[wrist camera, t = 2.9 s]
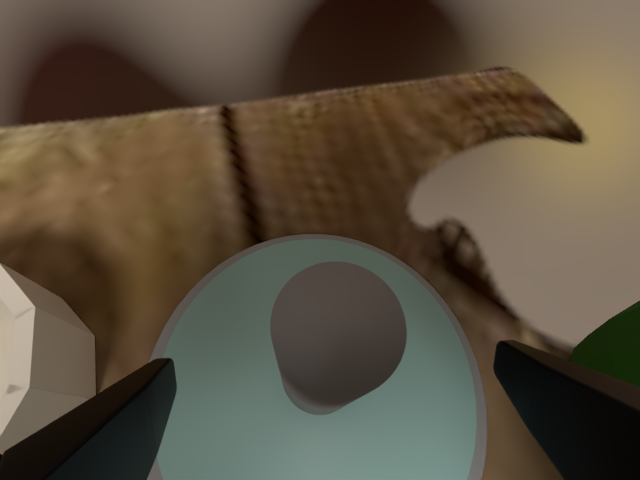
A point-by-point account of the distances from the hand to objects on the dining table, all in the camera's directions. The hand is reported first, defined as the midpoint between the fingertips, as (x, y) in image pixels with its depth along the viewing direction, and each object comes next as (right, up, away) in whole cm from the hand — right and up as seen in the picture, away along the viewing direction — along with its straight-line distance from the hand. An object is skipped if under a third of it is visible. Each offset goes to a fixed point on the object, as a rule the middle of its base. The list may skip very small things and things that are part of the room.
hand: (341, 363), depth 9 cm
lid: (-1, -3, +7) cm, 8 cm away
